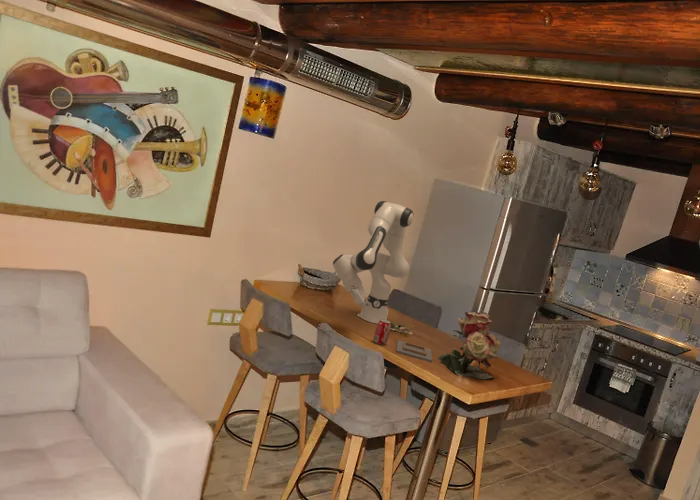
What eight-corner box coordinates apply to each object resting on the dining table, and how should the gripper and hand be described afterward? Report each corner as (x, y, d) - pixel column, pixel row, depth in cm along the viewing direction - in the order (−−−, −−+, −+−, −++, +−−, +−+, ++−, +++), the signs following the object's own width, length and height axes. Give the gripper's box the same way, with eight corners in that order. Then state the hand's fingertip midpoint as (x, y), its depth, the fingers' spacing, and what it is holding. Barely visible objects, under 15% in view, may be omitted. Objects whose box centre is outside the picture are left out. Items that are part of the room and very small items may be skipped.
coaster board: (397, 341, 327) (398, 337, 327) (430, 351, 325) (431, 347, 325) (396, 352, 307) (397, 348, 307) (431, 362, 306) (432, 358, 305)
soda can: (387, 344, 318) (393, 321, 316) (384, 346, 311) (390, 324, 310) (374, 339, 320) (380, 317, 318) (371, 342, 313) (377, 319, 312)
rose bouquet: (460, 379, 290) (478, 318, 286) (432, 356, 317) (448, 300, 313) (505, 385, 300) (523, 326, 296) (474, 362, 327) (490, 308, 323)
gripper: (356, 285, 303) (370, 309, 304) (360, 278, 323) (373, 301, 324) (345, 291, 304) (359, 315, 305) (350, 284, 324) (363, 307, 325)
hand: (367, 308), depth 314 cm, fingers open, 8 cm apart
